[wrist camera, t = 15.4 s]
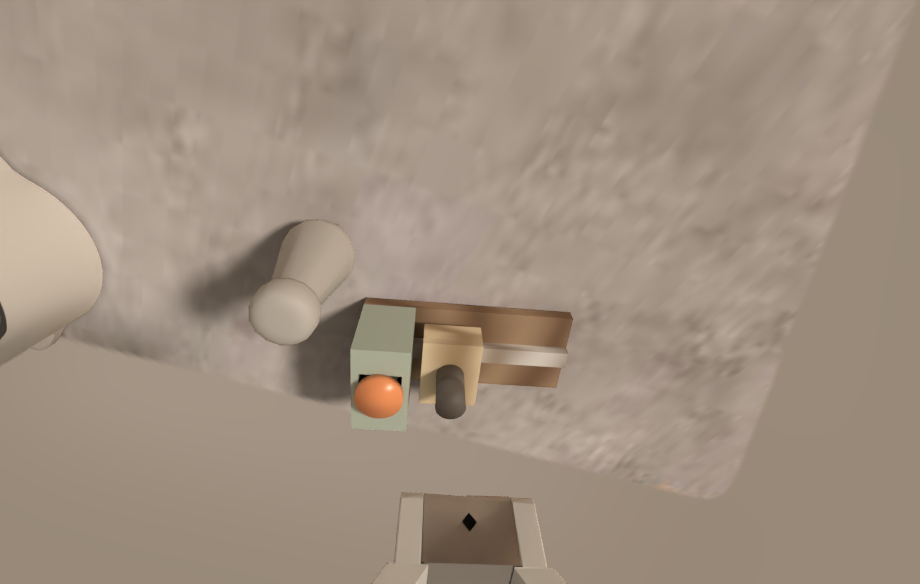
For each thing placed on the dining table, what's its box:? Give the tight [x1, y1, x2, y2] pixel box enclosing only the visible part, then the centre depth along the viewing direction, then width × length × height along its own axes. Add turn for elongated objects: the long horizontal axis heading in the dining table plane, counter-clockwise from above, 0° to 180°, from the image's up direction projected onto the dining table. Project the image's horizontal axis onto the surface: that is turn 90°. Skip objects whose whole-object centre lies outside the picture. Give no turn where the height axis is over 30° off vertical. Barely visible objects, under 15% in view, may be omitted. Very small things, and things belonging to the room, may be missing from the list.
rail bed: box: [364, 298, 573, 388], centre depth 45 cm, size 19×8×2 cm, turn 84°
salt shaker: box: [249, 220, 355, 345], centre depth 35 cm, size 6×6×13 cm
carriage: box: [419, 324, 483, 419], centre depth 41 cm, size 5×6×7 cm
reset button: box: [354, 374, 403, 419], centre depth 40 cm, size 4×4×5 cm
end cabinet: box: [350, 304, 416, 431], centre depth 41 cm, size 5×8×7 cm, turn 174°
